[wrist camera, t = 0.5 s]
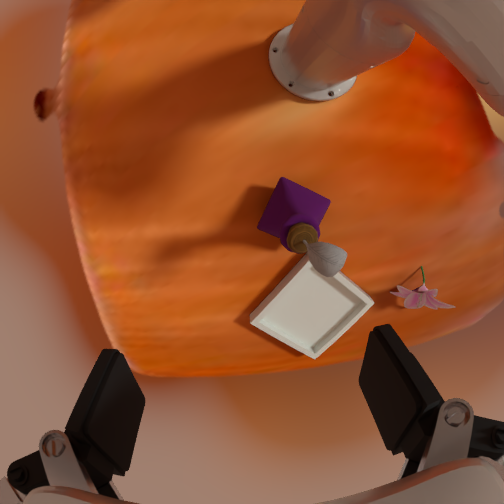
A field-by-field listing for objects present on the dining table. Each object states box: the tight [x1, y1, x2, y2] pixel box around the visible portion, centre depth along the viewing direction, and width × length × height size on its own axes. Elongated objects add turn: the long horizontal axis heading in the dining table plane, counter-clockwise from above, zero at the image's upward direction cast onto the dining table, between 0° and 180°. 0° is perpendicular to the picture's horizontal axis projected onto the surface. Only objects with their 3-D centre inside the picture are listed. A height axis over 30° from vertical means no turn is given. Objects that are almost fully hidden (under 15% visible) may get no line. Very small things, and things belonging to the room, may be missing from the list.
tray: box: [250, 252, 375, 359], centre depth 44 cm, size 15×15×2 cm
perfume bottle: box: [257, 177, 347, 277], centre depth 30 cm, size 8×8×18 cm
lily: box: [390, 266, 455, 309], centre depth 41 cm, size 12×12×10 cm
